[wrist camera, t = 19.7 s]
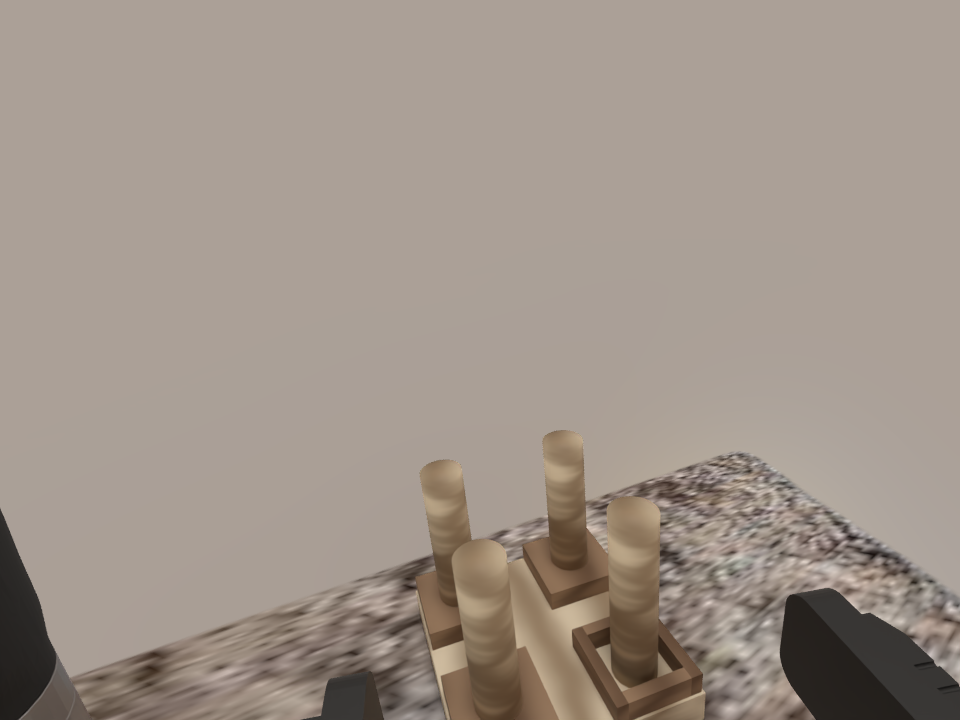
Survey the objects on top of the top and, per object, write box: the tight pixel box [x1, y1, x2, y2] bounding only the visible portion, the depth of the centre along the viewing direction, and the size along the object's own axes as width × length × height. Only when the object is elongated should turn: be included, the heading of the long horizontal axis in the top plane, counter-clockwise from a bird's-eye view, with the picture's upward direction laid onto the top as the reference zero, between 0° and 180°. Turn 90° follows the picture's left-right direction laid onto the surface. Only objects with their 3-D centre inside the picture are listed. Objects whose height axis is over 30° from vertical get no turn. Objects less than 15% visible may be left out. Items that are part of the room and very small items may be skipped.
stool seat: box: [415, 430, 706, 720], centre depth 46 cm, size 20×20×19 cm
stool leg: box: [607, 496, 660, 688], centre depth 41 cm, size 4×4×16 cm
